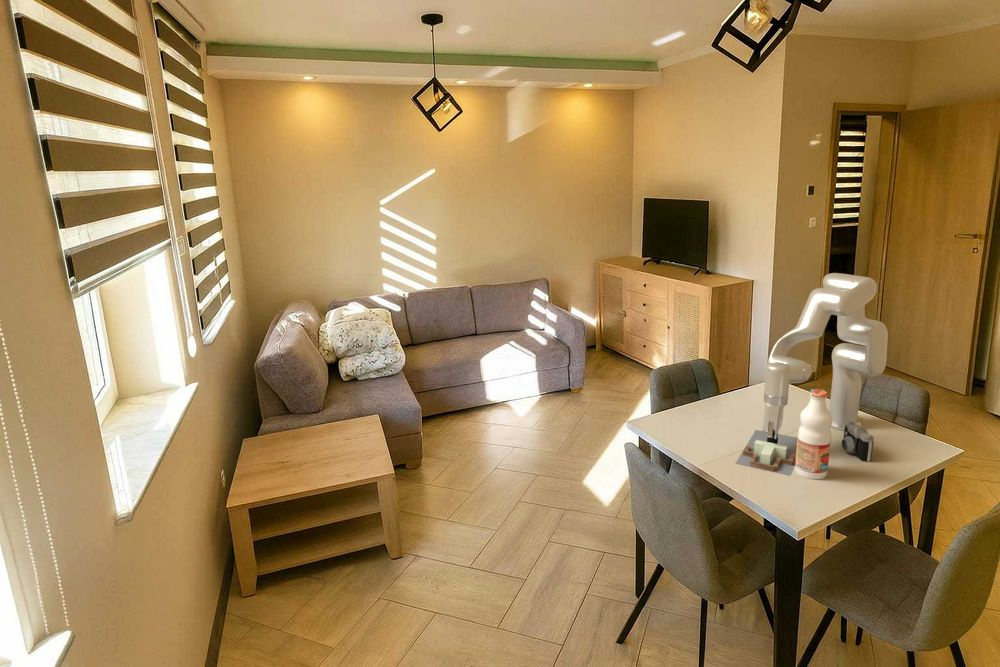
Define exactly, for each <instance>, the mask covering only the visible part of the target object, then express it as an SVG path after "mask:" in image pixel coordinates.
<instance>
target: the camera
mask: <svg viewBox="0 0 1000 667" xmlns="http://www.w3.org/2000/svg"><path fill="white" fill-rule="evenodd" d="M874 442H875V437H874V436H873V435H872V434H870V433H869V432H868V430H867V429H866V428H865V427H864V426H862V425H861V426H859V425H856V424H855V423H854V422H847V423H846V424H845V429H844V430H843V438H842V439H841V448H842V450H843V451H845V452H847V453H848V454H852V455H853V456H855V457H856V458H857V459H858V460H859V461H861V462H865V463H869V462H872V456H873V452H874V450H873V449H874Z"/></svg>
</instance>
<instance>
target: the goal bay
mask: <svg viewBox="0 0 1000 667" xmlns="http://www.w3.org/2000/svg"><path fill="white" fill-rule="evenodd" d="M746 445H747V444H746ZM746 445H745V447H746V448H745V447H744V448H745V449H744V448H743V450H744V451H743V450H742V452H743V456H748V457H752V458H751V460H750V465H751V467H750V468H752V467H755V468H754V469H757V468H759V469H758V470H761V469H764V470H763V471H766V470H768V471H767V472H770V471H773V472H772V473H775V472H774V471H775V470H776V471H777V469H778V467H779V465H780V463H781V464H786V465H790V466H792V464H793V461H794V459H795V454H792V453H791V455H790V458H789V459H784V458H780V457H777V459H776V461H775V463H774V465H768V464H763V463H759V462H756V460H757V458H758V453H756V452H751V451H750V449H751V445H747V446H746Z"/></svg>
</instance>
